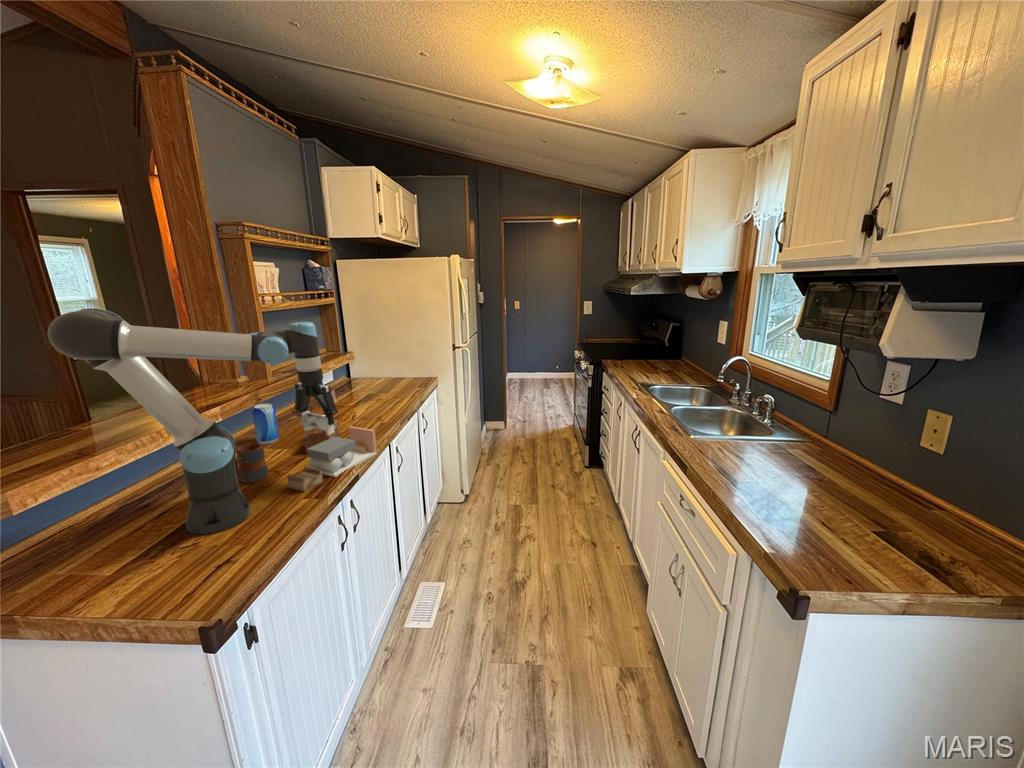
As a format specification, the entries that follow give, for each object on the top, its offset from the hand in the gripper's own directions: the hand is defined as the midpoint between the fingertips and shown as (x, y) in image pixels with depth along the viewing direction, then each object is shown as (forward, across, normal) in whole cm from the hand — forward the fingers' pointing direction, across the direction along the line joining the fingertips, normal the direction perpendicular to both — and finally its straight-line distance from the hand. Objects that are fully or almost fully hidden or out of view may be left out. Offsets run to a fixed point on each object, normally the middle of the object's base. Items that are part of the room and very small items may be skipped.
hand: (319, 431), depth 141 cm
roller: (-4, 0, 0) cm, 4 cm away
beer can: (+16, +48, -13) cm, 53 cm away
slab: (+11, +2, -6) cm, 12 cm away
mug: (+16, +20, +14) cm, 29 cm away
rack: (+16, +1, +8) cm, 18 cm away
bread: (+17, +24, -20) cm, 36 cm away
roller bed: (+17, +2, -11) cm, 20 cm away
